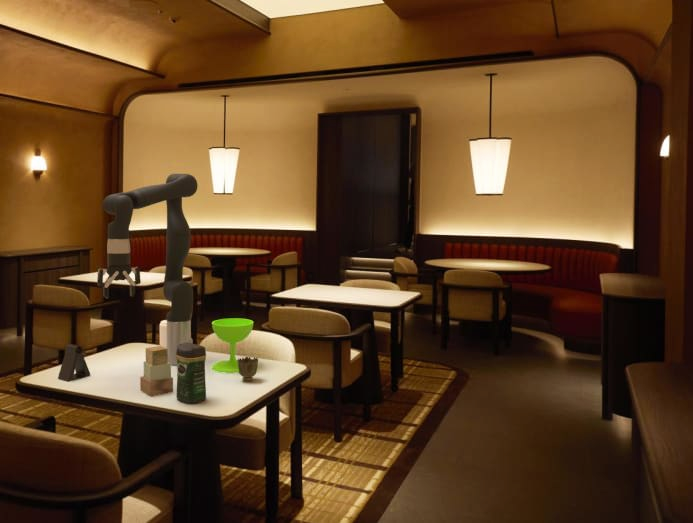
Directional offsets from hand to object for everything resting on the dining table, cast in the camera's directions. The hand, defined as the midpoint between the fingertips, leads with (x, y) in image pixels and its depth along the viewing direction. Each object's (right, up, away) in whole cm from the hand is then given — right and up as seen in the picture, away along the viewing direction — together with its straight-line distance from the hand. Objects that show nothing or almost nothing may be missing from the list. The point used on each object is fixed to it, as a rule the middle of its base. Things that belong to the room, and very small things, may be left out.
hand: (119, 297), depth 210 cm
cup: (+45, -31, +5) cm, 55 cm away
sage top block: (+16, -27, -9) cm, 32 cm away
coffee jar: (+30, -33, -17) cm, 47 cm away
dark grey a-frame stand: (-18, -30, +5) cm, 35 cm away
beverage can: (+3, -26, +51) cm, 57 cm away
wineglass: (+36, -29, +22) cm, 51 cm away
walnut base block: (+16, -32, -9) cm, 37 cm away
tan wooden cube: (+16, -22, -10) cm, 29 cm away
